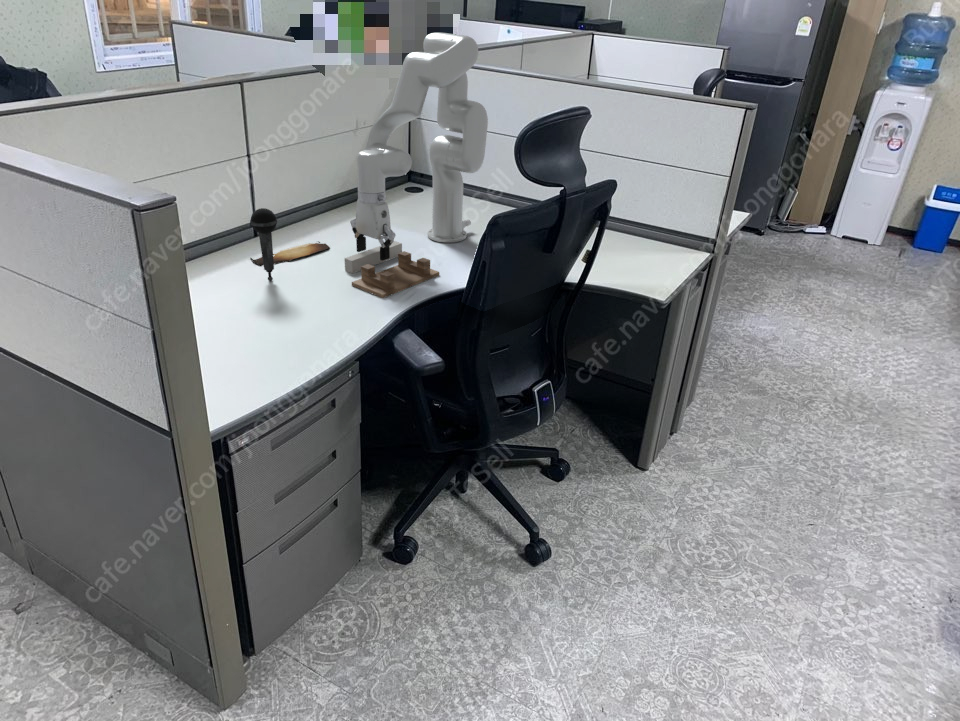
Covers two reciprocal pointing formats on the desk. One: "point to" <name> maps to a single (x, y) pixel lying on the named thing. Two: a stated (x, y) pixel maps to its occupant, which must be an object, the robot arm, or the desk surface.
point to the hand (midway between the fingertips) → (373, 255)
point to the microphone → (265, 236)
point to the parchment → (294, 253)
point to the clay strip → (370, 257)
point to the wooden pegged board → (395, 276)
